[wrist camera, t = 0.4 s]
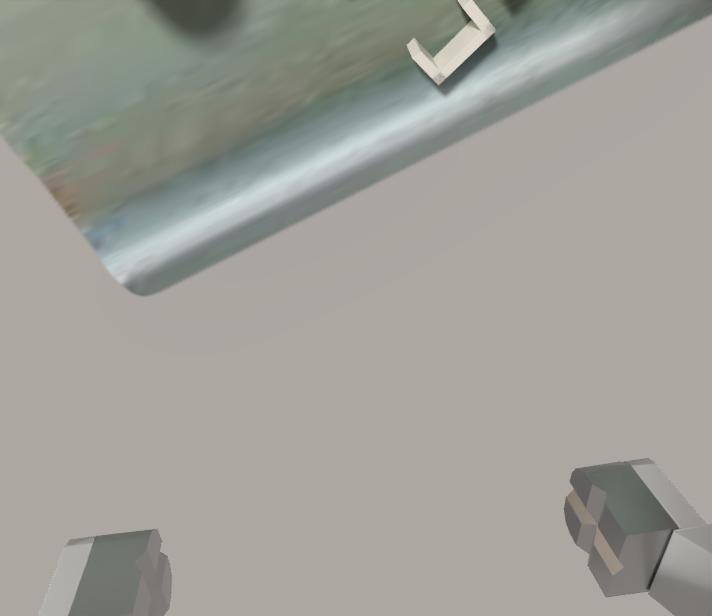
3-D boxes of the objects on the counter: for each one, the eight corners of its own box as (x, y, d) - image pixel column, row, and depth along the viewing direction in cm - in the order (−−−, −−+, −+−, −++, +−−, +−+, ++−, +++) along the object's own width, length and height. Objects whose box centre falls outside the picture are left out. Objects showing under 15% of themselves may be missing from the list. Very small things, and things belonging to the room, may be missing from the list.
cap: (431, 71, 55) (438, 85, 53) (406, 45, 53) (412, 58, 51) (487, 17, 52) (496, 30, 50) (462, -13, 50) (471, -2, 48)
